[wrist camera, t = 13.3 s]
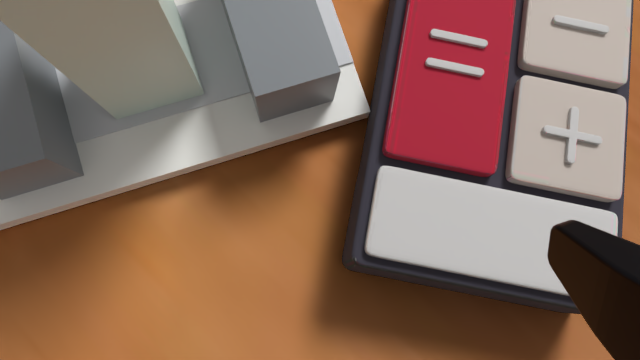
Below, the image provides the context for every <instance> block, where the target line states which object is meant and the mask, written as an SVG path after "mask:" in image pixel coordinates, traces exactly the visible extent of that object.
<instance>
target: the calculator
mask: <svg viewBox="0 0 640 360" xmlns="http://www.w3.org/2000/svg"><path fill="white" fill-rule="evenodd" d="M632 20H633V0H390V2H389V7H388V13H387V18H386V23H385V29H384V34H383V40H382V45H381V51H380V56H379V62H378V67H377V73H376V78H375V84H374V90H373V95H372V101H371V106H370V111H371V112H370V114H369V117H368V123H367V129H366V134H365V140H364V145H363V151H362V156H361V162H360V167H359V172H358V176H357V181H356V185H355V190H354V196H353V201H352V207H351V212H350V217H349V223H348V228H347V234H346V239H345V245H344V250H343V256H342V263H343V265H344V267H345V268H347V269H348V270H351V271H356V272H361V273H366V274H371V275H376V276H381V277H386V278H391V279H396V280H401V281H406V282H411V283H416V284H421V285H426V286H431V287H436V288H441V289H446V290H451V291H456V292H461V293H466V294H471V295H476V296H481V297H486V298H491V299H496V300H501V301H506V302H511V303H516V304H521V305H526V306H531V307H536V308H541V309H546V310H551V311H556V312H562V313H574V314H581V313H580V311H579V310H578V308H577V307H576V305H575V304H574V302H573V301H572V299H571V297H570V296H569V294H568V293H567V291H566V290H565V288H564V287H563V285H562V284H561V282H560V280H559V279H558V277H557V276H556V274H555V273H554V271H553V270H552V268H551V266H550V264H549V261H548V256H547V253H548V246H549V238H550V231H551V228H552V227H553V226H554V225H556V224H559V223H562V222H565V221H568V220H577V221H580V222H582V223H585V224H587V225H590V226H592V227H595V228H597V229H600V230H603V231H605V232H608V233H610V234H613V235H615V236H618V237H620V238H622V223H623V203H624V183H625V162H626V142H627V122H628V101H629V81H630V61H631V40H632Z"/></svg>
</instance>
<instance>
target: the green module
mask: <svg viewBox="0 0 640 360" xmlns="http://www.w3.org/2000/svg"><path fill="white" fill-rule="evenodd" d="M0 21H1V22H2V23H4V24H5V25H6V26H7V27H8V28H9V29H11V30H12V31H13V32H14V33H15V34H17V35H18V36H19V37H20V38H21V39H22V40H24V41H25V42H26V43H27V44H28V45H30V46H31V47H32V48H33V49H34V50H35V51H37V52H38V53H39V54H40V55H41V56H43V57H44V58H45V59H46V60H47V61H48V62H50V63H51V64H52V65H53V66H54V67H56V68H57V69H58V70H59V71H60V72H61V73H63V74H64V75H65V76H66V77H67V78H68V79H70V80H71V81H72V82H73V83H74V84H76V85H77V86H78V87H79V88H80V89H81V90H83V91H84V92H85V93H86V94H87V95H89V96H90V97H91V98H92V99H93V100H94V101H96V102H97V103H98V104H99V105H100V106H102V107H103V108H104V109H105V110H106V111H107V112H109V113H110V114H111V115H112V116H113V117H115V118H116V119H120V118H124V117H127V116H131V115H134V114H138V113H141V112H144V111H148V110H151V109H155V108H158V107H162V106H165V105H169V104H172V103H176V102H179V101H183V100H186V99H189V98H193V97H196V96H200V95H203V94H204V91H203V88H202V85H201V81H200V78H199V75H198V72H197V68H196V65H195V62H194V58H193V55H192V52H191V49H190V45H189V42H188V39H187V36H186V32H185V29H184V26H183V23H182V19H181V16H180V14H179V11H178V9H177V7H176V4H175V2H174V0H0Z"/></svg>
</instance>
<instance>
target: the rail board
mask: <svg viewBox="0 0 640 360" xmlns="http://www.w3.org/2000/svg"><path fill="white" fill-rule="evenodd" d="M174 2H175V4H176V7H177V9H178V11H179V14H180V16H181V19H182V23H183V26H184V29H185V32H186V36H187V39H188V42H189V45H190V49H191V52H192V55H193V58H194V62H195V65H196V68H197V72H198V75H199V78H200V81H201V85H202V88H203V91H204V94H203V95H200V96H196V97H193V98H189V99H186V100H183V101H179V102H176V103H172V104H169V105H165V106H162V107H158V108H155V109H151V110H148V111H144V112H141V113H138V114H134V115H131V116H127V117H124V118H120V119H116V118H115V117H113V116H112V115H111V114H110V113H109V112H107V111H106V110H105V109H104V108H103V107H102V106H100V105H99V104H98V103H97V102H96V101H94V100H93V99H92V98H91V97H90V96H89V95H87V94H86V93H85V92H84V91H83V90H81V89H80V88H79V87H78V86H77V85H76V84H74V83H73V82H72V81H71V80H70V79H68V78H67V77H66V76H65V75H64V74H63V73H61V72H60V71H59V70H58V69H57V68H56V67H54V66H53V65H52V64H51V63H50V62H48V61H47V60H46V59H45V58H44V57H43V56H41V55H40V54H39V53H38V52H37V51H35V50H34V49H33V48H32V47H31V46H30V45H28V44H27V43H26V42H25V41H24V40H22V39H21V38H20V37H19V36H18V35H17V34H15V33H14V32H13V31H12V30H11V29H9V28H8V27H7V26H6V25H5V24H4V23H2V22H1V21H0V230H3V229H6V228H9V227H12V226H16V225H19V224H22V223H26V222H29V221H32V220H35V219H39V218H42V217H45V216H48V215H52V214H55V213H58V212H61V211H65V210H68V209H71V208H74V207H78V206H81V205H84V204H88V203H91V202H94V201H97V200H101V199H104V198H107V197H110V196H114V195H117V194H120V193H123V192H127V191H130V190H133V189H136V188H140V187H143V186H146V185H149V184H153V183H156V182H159V181H163V180H166V179H169V178H172V177H176V176H179V175H182V174H185V173H189V172H192V171H195V170H198V169H202V168H205V167H208V166H211V165H215V164H218V163H221V162H225V161H228V160H231V159H234V158H238V157H241V156H244V155H247V154H251V153H254V152H257V151H260V150H264V149H267V148H270V147H273V146H277V145H280V144H283V143H287V142H290V141H293V140H296V139H300V138H303V137H306V136H309V135H313V134H316V133H319V132H322V131H326V130H329V129H332V128H335V127H339V126H342V125H345V124H349V123H352V122H355V121H358V120H362V119H365V118H368V116H369V114H370V112H371V111H370V108H369V105H368V102H367V100H366V97H365V94H364V91H363V88H362V86H361V83H360V80H359V77H358V74H357V72H356V69H355V66H354V63H353V59H352V56H351V53H350V51H349V48H348V45H347V42H346V39H345V37H344V34H343V31H342V28H341V25H340V23H339V20H338V17H337V14H336V11H335V9H334V6H333V3H332V0H174Z"/></svg>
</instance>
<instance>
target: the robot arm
mask: <svg viewBox="0 0 640 360" xmlns="http://www.w3.org/2000/svg"><path fill="white" fill-rule="evenodd" d="M547 256H548V261H549V264H550V266H551V268H552V270H553V271H554V273H555V274H556V276H557V277H558V279H559V280H560V282H561V284H562V285H563V287H564V288H565V290H566V291H567V293H568V294H569V296H570V297H571V299H572V301H573V302H574V304H575V305H576V307H577V308H578V310H579V311H580V313H581V315H582V316H583V318H584V319H585V321H586V322H587V324H588V325H589V327H590V328H591V330H592V331H593V333H594V334H595V335H596V337H597V338H598V339H599V341H600V342H601V343H602V344H603V346H604V347H605V348H606V349H607V351H608V352H609V353H610V354H611V356H612V357H613V358H614V359H615V360H640V245H638V244H635V243H633V242H630V241H628V240H625V239H623V238H620V237H618V236H615V235H613V234H610V233H608V232H605V231H603V230H600V229H597V228H595V227H592V226H590V225H587V224H585V223H582V222H580V221H577V220H568V221H565V222H562V223H559V224H556V225H554V226H553V227H552V228H551V231H550V238H549V246H548V253H547Z"/></svg>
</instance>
